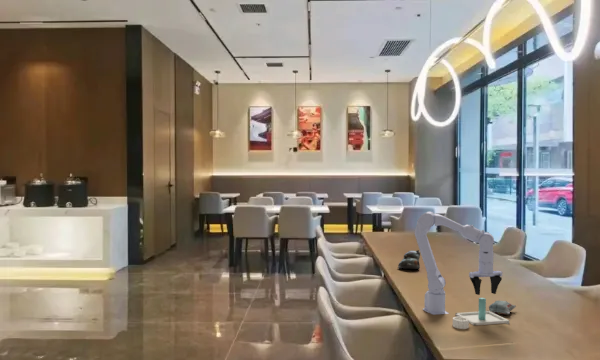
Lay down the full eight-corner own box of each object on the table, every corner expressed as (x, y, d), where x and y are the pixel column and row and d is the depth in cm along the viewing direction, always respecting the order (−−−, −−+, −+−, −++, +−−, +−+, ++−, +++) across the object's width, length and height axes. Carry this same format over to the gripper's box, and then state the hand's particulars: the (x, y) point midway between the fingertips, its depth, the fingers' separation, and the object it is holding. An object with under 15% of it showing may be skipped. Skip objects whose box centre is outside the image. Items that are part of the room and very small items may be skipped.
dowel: (477, 318, 207) (477, 297, 207) (483, 317, 208) (483, 297, 207) (480, 320, 204) (481, 299, 204) (486, 319, 205) (487, 299, 205)
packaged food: (515, 311, 220) (515, 300, 219) (509, 318, 210) (509, 306, 210) (495, 308, 225) (495, 297, 225) (487, 314, 215) (487, 303, 215)
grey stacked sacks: (393, 268, 313) (396, 247, 319) (408, 274, 318) (410, 253, 323) (409, 265, 301) (412, 244, 306) (424, 271, 305) (427, 250, 311)
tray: (455, 316, 211) (455, 313, 211) (488, 314, 215) (488, 310, 215) (474, 326, 198) (474, 323, 197) (509, 324, 201) (509, 320, 201)
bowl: (449, 326, 198) (449, 317, 198) (463, 325, 200) (463, 316, 200) (457, 330, 193) (458, 321, 192) (471, 329, 194) (471, 320, 194)
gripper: (476, 264, 203) (475, 297, 203) (507, 262, 206) (506, 295, 206) (466, 261, 210) (466, 293, 210) (496, 259, 213) (496, 291, 213)
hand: (485, 293), depth 209 cm, fingers open, 7 cm apart
